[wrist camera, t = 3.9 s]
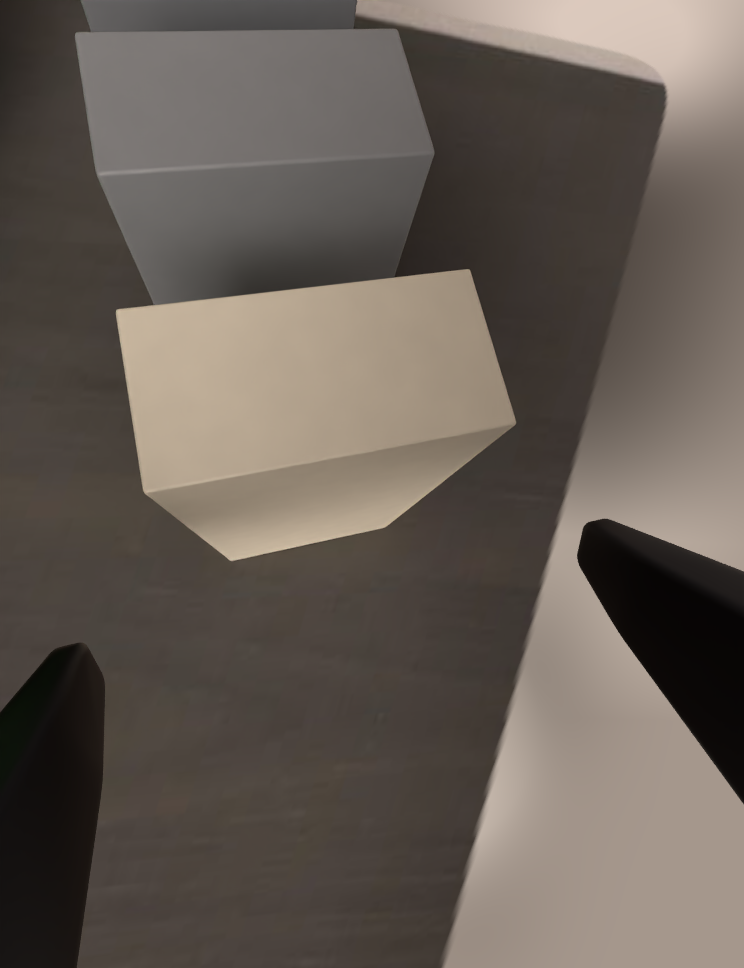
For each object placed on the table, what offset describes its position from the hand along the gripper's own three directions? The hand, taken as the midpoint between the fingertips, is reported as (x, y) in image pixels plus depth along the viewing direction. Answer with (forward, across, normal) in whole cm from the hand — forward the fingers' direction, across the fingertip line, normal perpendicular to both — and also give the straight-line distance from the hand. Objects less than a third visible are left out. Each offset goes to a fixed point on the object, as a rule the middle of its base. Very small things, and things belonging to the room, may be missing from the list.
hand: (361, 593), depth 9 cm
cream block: (+10, 0, +5) cm, 11 cm away
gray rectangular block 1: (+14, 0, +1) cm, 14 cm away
